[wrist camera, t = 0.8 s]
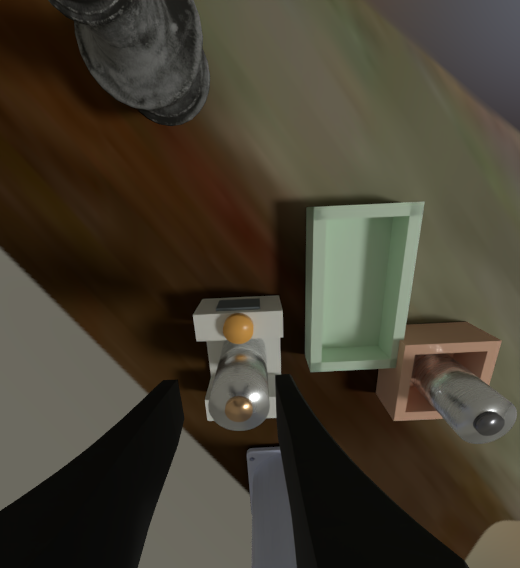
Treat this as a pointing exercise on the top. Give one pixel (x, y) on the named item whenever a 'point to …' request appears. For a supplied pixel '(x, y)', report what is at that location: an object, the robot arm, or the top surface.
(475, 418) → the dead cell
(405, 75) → the top surface
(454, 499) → the top surface
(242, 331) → the cradle
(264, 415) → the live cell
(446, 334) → the cup
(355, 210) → the trough
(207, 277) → the top surface
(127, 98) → the grey chess piece
